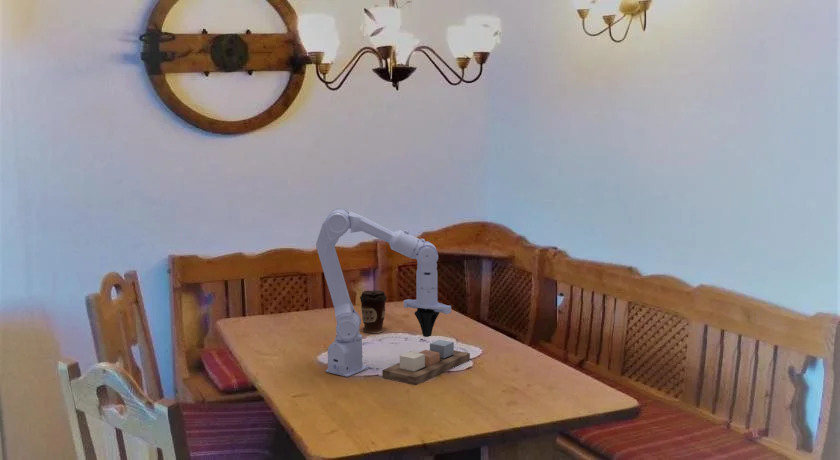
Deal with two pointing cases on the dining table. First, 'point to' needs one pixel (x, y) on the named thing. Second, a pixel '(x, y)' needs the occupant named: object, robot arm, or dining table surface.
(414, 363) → the cream block
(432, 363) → the salmon brown square block
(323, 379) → the dining table surface
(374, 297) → the coffee cup
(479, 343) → the dining table surface
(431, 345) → the button slate
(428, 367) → the board
